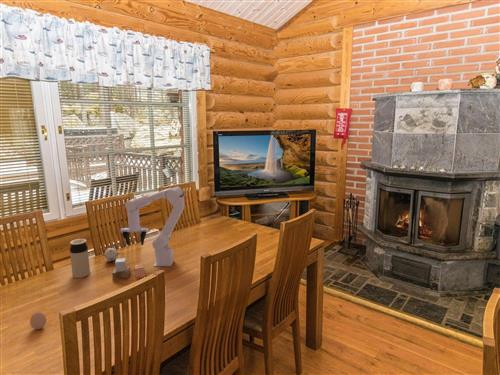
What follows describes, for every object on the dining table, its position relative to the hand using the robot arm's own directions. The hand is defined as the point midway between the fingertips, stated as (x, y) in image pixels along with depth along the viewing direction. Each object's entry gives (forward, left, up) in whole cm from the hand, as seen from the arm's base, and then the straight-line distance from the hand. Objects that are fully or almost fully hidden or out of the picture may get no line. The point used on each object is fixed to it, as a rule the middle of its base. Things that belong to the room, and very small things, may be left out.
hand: (135, 244), depth 185 cm
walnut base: (+2, +18, -10) cm, 21 cm away
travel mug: (+23, +16, -10) cm, 30 cm away
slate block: (+2, +18, -6) cm, 19 cm away
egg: (+18, +61, -10) cm, 64 cm away
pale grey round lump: (+14, -1, -10) cm, 17 cm away
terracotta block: (-7, +17, -10) cm, 21 cm away
